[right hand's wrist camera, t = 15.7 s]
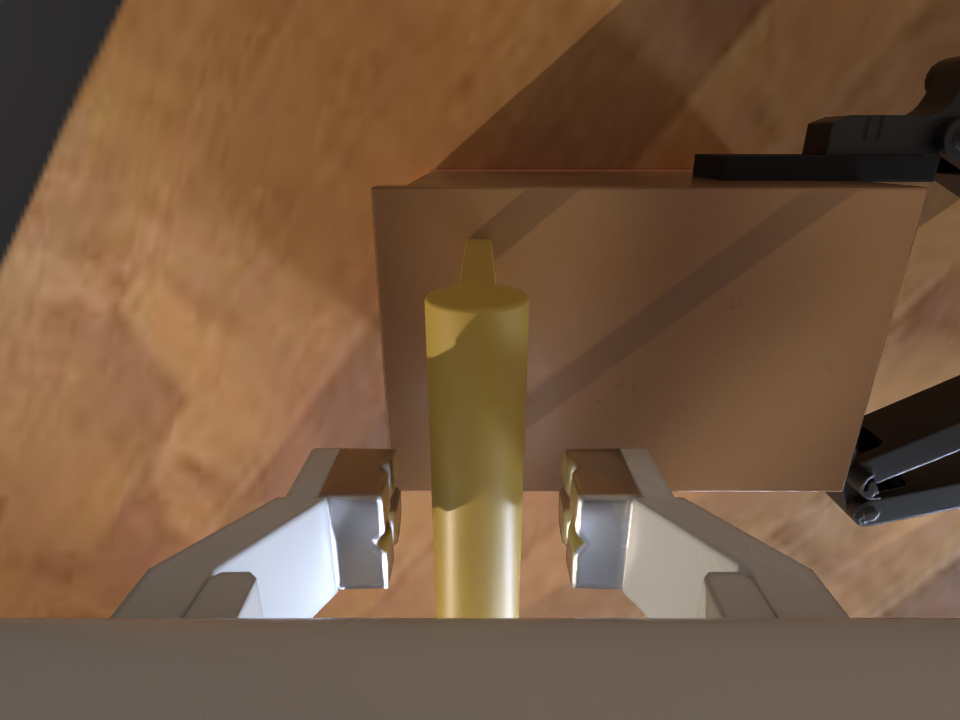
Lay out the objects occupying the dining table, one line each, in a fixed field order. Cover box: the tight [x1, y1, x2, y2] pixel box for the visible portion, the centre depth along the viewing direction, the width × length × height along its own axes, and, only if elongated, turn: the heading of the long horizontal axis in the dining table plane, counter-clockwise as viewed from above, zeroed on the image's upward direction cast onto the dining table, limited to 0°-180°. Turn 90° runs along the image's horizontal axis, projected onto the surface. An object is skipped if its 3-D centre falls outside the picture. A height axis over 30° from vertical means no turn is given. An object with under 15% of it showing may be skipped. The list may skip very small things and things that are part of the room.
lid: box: [371, 185, 928, 618], centre depth 13 cm, size 15×10×8 cm, turn 90°
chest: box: [408, 169, 897, 185], centre depth 22 cm, size 14×10×10 cm
